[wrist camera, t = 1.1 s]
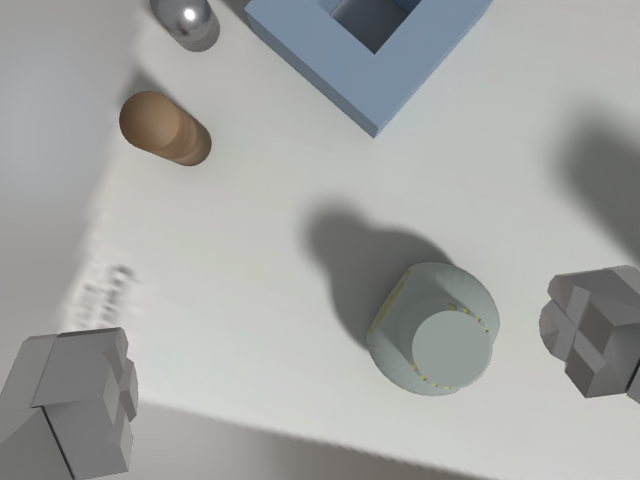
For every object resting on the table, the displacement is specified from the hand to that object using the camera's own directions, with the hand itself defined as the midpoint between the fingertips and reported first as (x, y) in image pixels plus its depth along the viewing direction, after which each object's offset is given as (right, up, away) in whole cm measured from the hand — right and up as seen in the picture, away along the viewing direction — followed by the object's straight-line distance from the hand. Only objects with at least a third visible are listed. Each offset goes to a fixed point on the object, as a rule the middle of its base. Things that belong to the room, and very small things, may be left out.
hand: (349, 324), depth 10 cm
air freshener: (+9, -6, +36) cm, 37 cm away
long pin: (-12, +10, +36) cm, 39 cm away
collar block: (+4, +20, +35) cm, 41 cm away
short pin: (-11, +20, +36) cm, 42 cm away
